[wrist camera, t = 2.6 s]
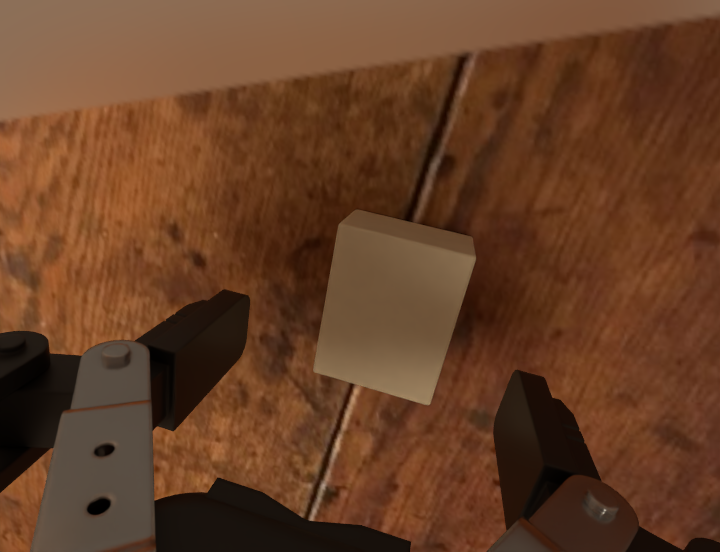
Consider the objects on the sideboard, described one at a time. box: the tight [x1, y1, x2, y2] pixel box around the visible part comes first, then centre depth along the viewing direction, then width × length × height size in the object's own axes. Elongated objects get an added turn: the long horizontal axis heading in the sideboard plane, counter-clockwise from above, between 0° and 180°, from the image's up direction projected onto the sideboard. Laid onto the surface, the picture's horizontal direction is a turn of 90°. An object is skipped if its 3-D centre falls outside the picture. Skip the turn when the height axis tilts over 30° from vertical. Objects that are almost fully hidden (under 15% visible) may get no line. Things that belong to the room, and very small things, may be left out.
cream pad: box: [313, 209, 476, 405], centre depth 16 cm, size 6×5×3 cm
